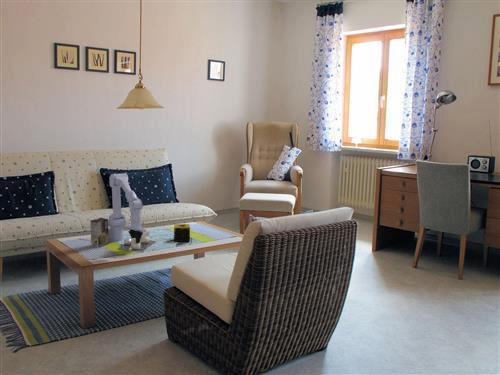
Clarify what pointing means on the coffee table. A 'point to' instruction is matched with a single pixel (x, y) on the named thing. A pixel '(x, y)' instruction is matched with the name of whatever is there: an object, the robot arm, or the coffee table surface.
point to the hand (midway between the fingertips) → (136, 242)
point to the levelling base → (128, 247)
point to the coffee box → (99, 232)
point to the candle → (181, 233)
